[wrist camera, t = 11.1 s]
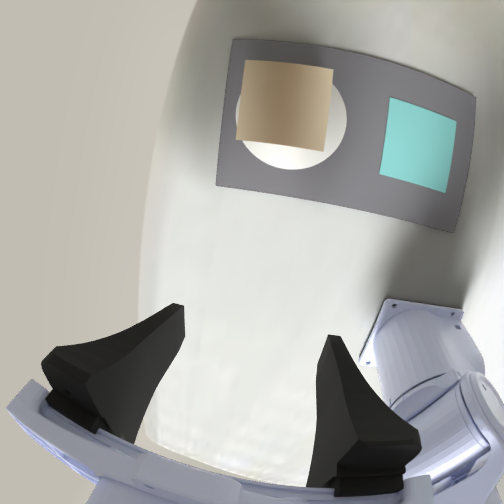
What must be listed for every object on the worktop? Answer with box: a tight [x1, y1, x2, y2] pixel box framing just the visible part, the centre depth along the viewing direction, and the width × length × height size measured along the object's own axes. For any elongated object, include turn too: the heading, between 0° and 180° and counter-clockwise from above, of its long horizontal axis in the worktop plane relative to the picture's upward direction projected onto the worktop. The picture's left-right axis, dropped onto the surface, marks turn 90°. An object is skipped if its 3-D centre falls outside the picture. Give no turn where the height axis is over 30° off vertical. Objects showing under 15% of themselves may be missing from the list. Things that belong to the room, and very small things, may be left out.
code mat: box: [216, 39, 476, 233], centre depth 17 cm, size 20×12×1 cm, turn 84°
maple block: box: [236, 60, 333, 152], centre depth 15 cm, size 4×4×6 cm
